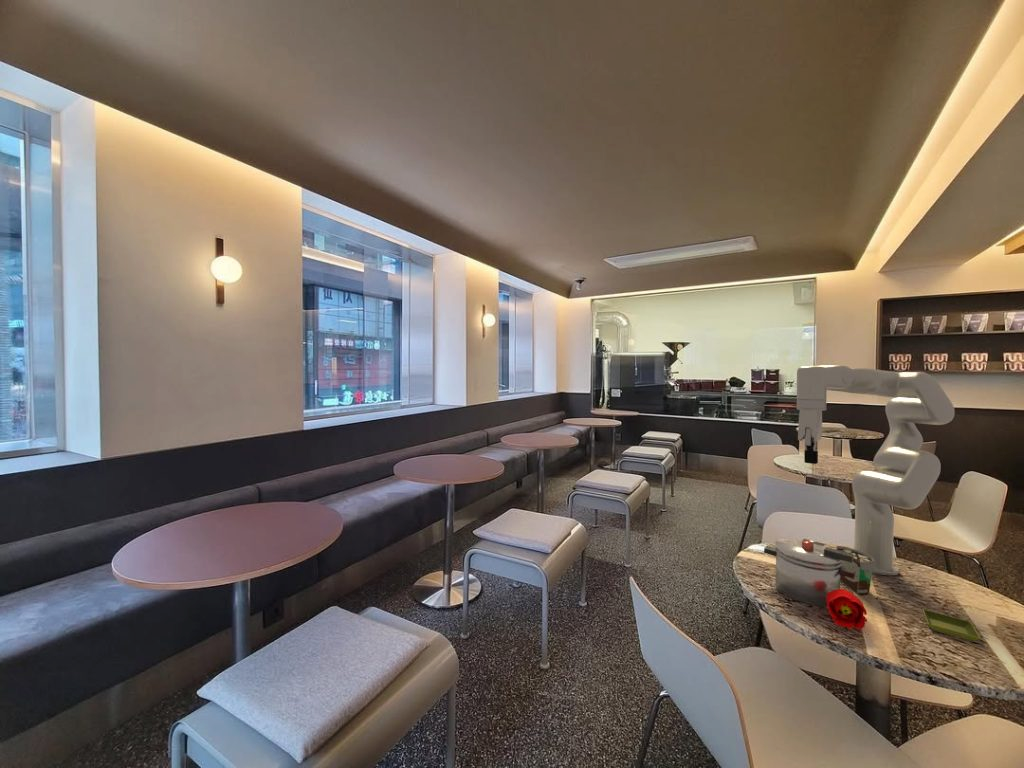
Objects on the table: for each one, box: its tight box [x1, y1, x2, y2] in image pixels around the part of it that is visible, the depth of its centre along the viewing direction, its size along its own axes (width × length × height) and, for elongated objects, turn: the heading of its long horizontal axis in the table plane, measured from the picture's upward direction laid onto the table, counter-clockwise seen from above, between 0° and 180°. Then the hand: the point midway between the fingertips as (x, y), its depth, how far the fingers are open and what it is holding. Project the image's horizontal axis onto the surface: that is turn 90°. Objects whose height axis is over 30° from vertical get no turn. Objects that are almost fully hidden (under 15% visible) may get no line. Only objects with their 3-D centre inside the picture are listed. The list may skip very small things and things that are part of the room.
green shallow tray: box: [921, 609, 981, 642], centre depth 99 cm, size 9×9×2 cm
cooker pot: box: [763, 545, 856, 608], centre depth 116 cm, size 15×21×11 cm
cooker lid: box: [774, 538, 854, 566], centre depth 115 cm, size 16×18×3 cm
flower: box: [826, 588, 868, 630], centre depth 102 cm, size 8×8×8 cm
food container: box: [835, 545, 876, 596], centre depth 119 cm, size 12×6×10 cm, turn 168°
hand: (811, 462), depth 127 cm, fingers closed
